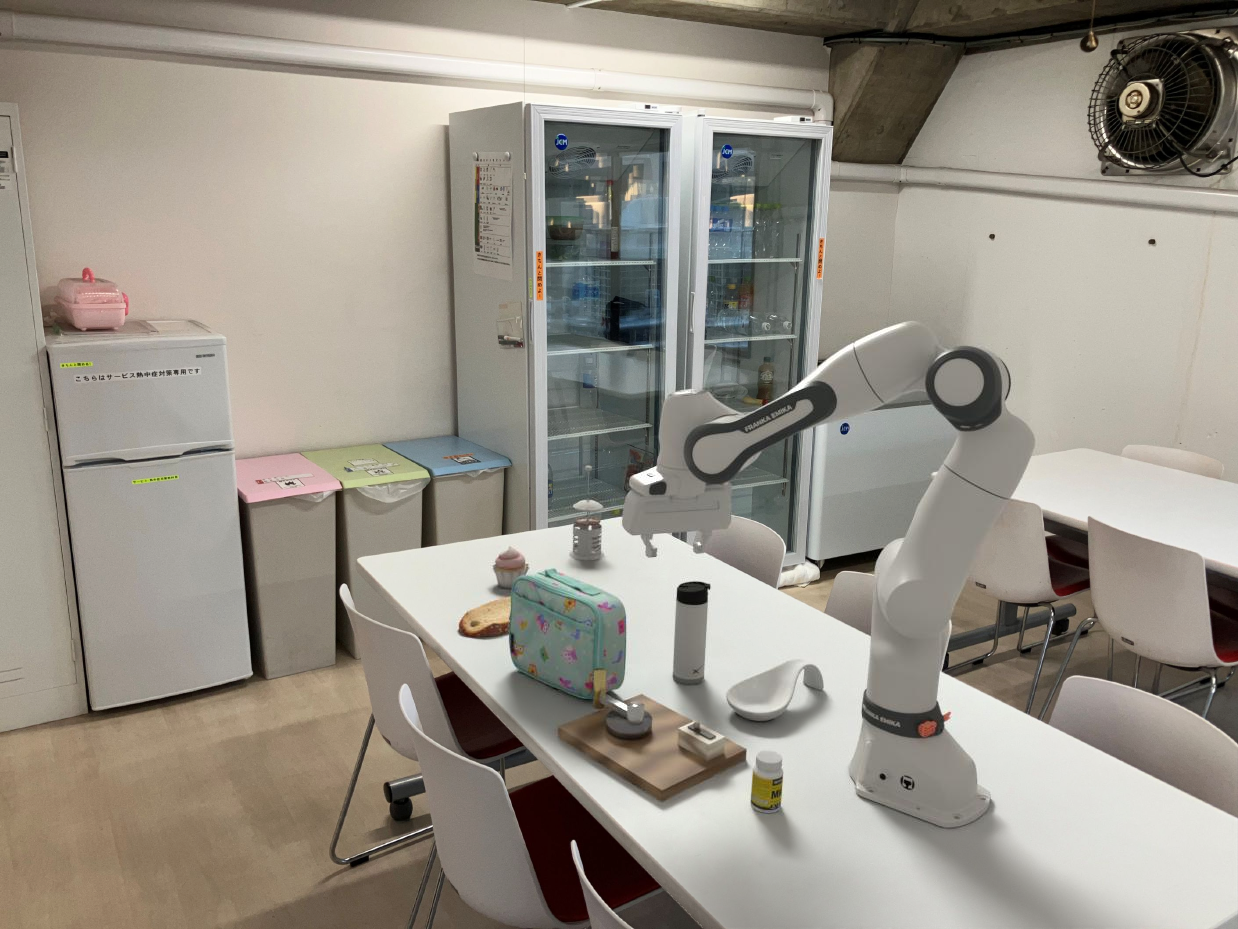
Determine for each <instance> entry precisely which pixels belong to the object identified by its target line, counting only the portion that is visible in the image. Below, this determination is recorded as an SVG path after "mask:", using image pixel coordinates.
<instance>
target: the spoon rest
mask: <svg viewBox="0 0 1238 929" xmlns="http://www.w3.org/2000/svg"><path fill="white" fill-rule="evenodd" d="M802 671H803V677H802V678H803V679H802V683H804V684H805V685H806V686H808V687H810V688H813V689H814V690H818V691H822V690H824V688H825V686H824V685H825V684H824V677H823V676H822V672H821V670H820V669H819V668H818V667H817V665H815V664H813V663H808V662H806V661H805V660H803V659H801V658H792V659H789V660H786V661H784V662H782V663H780V664H778V665H776V666H774V667H772V668H769V669H768V670H767V669H766V670H765V671H763V672H759V673H757V674H756V675H753V676H751V677H748V678H746V679H744V680H742V681H741V680H740V681H739V682H737V683H735V684H733V685H732V686H731V687H730V688H729V689H727V691H726V693H725V695H726V696H725V697H726V702H727V704H728V705H729V706H730V708H731V709H732V710H733V711H735V713H737V714H738V715H739V716H741V717H742V718H745V719H747V720H750V721H755V722H766V721H769V720H773V719H775V718H777V717H779V716H781V715H782V714H783V713H784V712H785V711H786V710H787V708H788V706H789V705H790V703H791V701H792V699H793V696H794V693H795V688H796V685H797V681H798V678H799V676H800V674H801V672H802Z"/></svg>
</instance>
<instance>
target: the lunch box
mask: <svg viewBox="0 0 1238 929" xmlns="http://www.w3.org/2000/svg"><path fill="white" fill-rule="evenodd" d="M510 589H511V591H510V597H511V612H510V616H509V620H510V628H509V632H508V645H509V653H510V659H511V662H512V664H513V666H514V667H515V668H516V669H517V670H518V671H519V672H521V673H523V674H525V675H526V676H528V677H531V678H532V679H534V680H536V681H538V682H541V683H543V684H545V685H548V686H550V687H552V688H555V689H558V690H560V691H563V692H564V693H566V694H569V695H571V696H574V697H576V698H580V699H583V700H585V699H586V700H593V690H594V669H596V668H604V669H606V693H607V692H610V691H615V690H618V689H620V688H621V687H622V686H623V684H624V682H625V681H624V680H625V676H626V675H625V674H626V659H627V657H626V656H627V614H626V609H625V605H624V604H623V602H622V601H621V599H620V598H619V597H618V596H616V595H614V594H612V593H611V592H608V591H606V590H604V589H602V588H599V587H597V586H595V585H593V584H590V583H588V582H586V581H583V580H581V579H578V578H576V577H573V576H570V575H568V574H565V573H562V572H559V571H557V569H556V568H555V567H552V568H547V569H544V571H543V570H541V571H539V572H534V573H529V574H526V575H521V576H519V577H518V578H517V579H516V580H515V582H514V584H513V586H512V588H510Z"/></svg>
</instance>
